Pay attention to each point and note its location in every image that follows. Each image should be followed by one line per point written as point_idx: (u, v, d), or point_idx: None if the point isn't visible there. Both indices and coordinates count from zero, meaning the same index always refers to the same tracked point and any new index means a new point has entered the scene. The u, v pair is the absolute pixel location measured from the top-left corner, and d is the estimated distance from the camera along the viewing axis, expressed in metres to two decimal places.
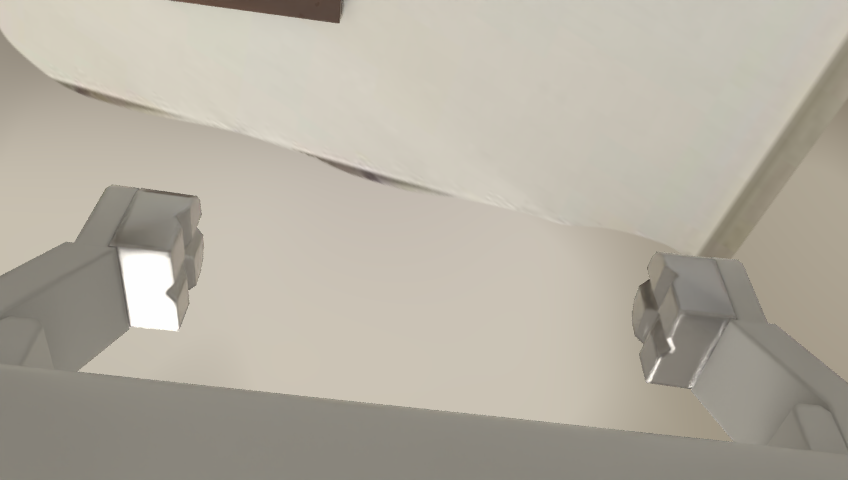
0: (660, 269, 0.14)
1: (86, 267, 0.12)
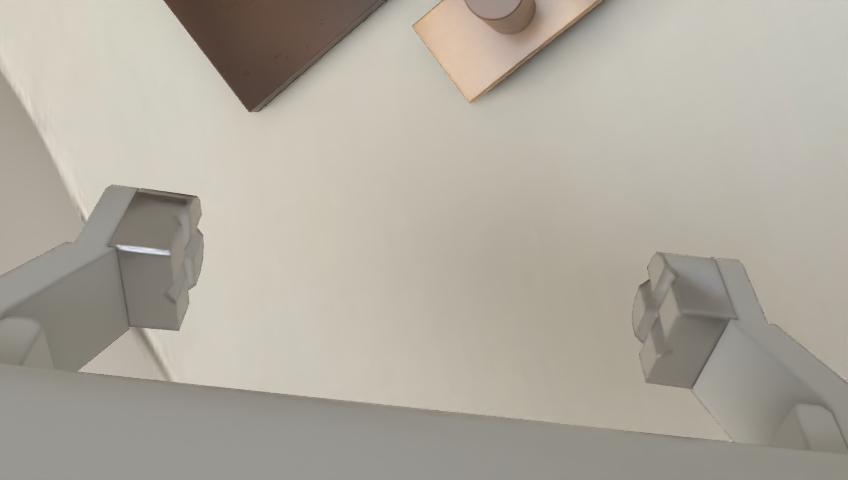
0: (660, 269, 0.14)
1: (86, 267, 0.12)
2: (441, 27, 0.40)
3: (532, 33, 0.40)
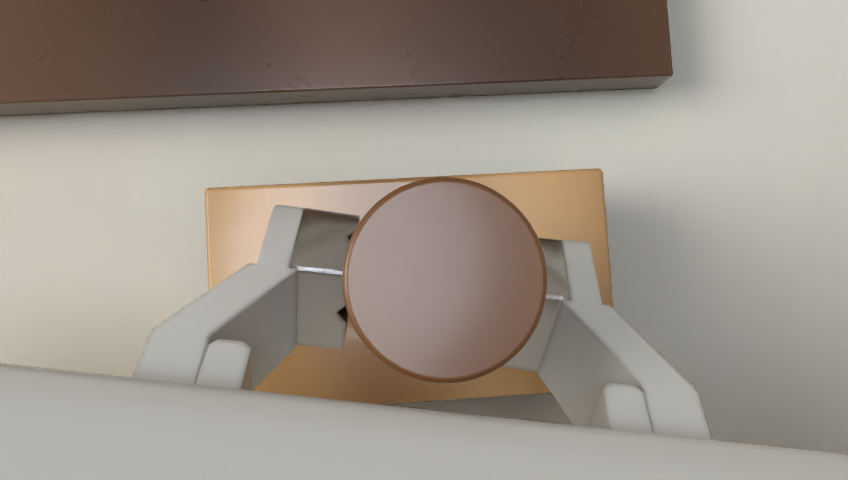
0: None
1: (274, 289, 0.12)
2: (260, 232, 0.17)
3: None
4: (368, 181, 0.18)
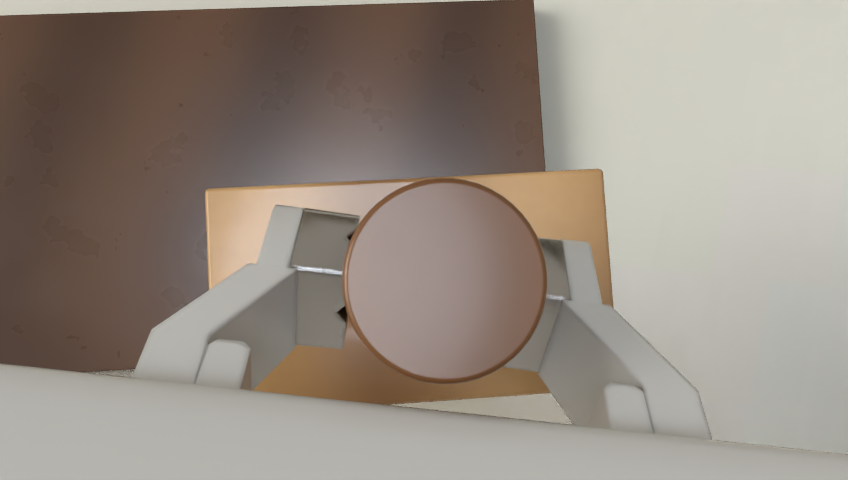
0: None
1: (274, 289, 0.12)
2: (260, 232, 0.17)
3: None
4: (368, 181, 0.18)
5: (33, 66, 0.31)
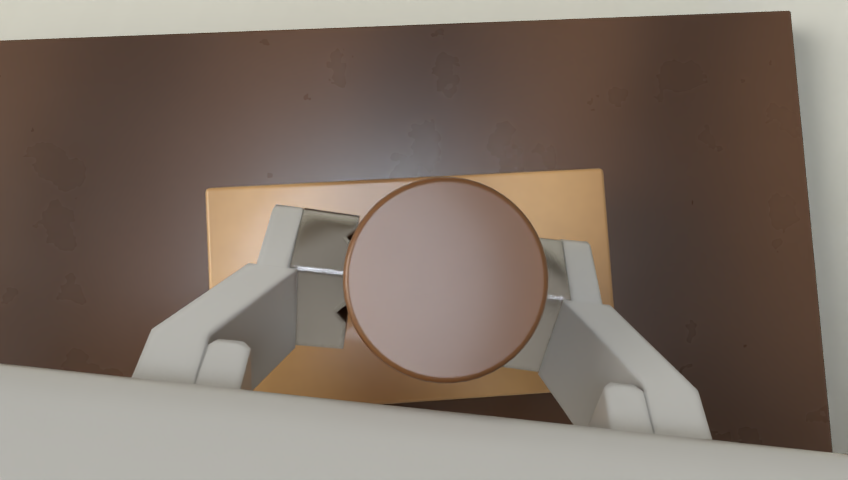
0: None
1: (274, 289, 0.12)
2: (261, 231, 0.17)
3: None
4: (369, 181, 0.18)
5: (45, 117, 0.20)
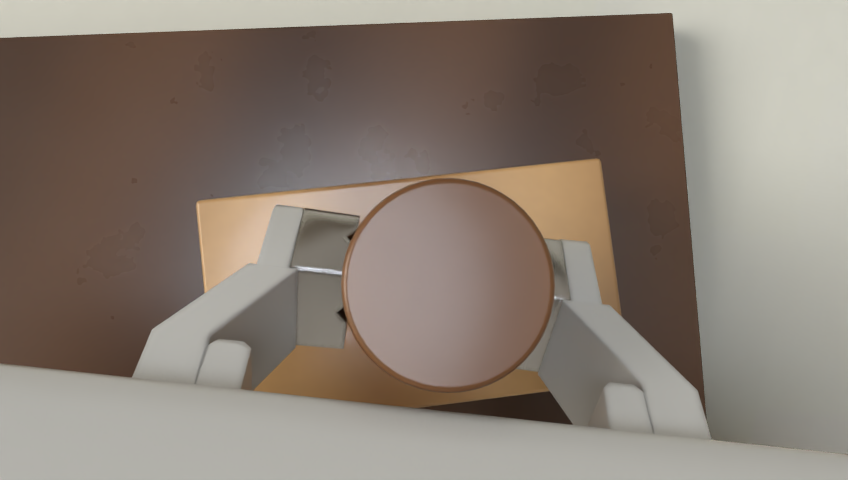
0: None
1: (274, 289, 0.12)
2: (255, 242, 0.17)
3: None
4: (362, 184, 0.17)
5: None
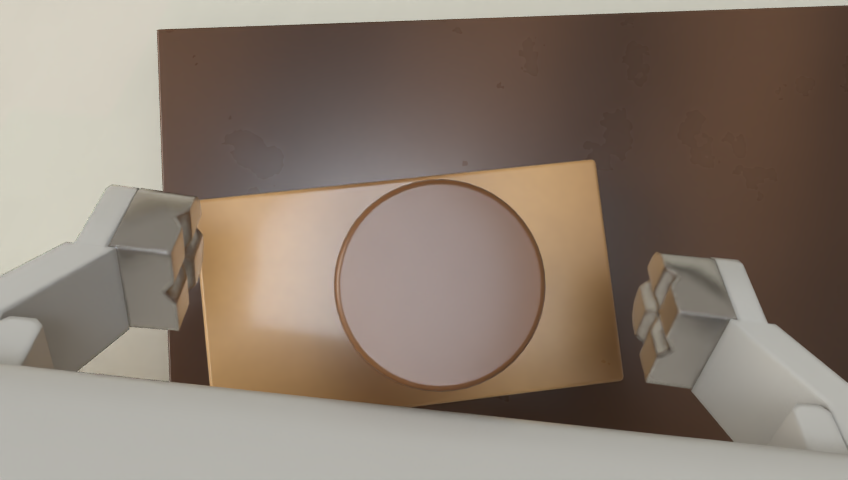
0: (660, 269, 0.14)
1: (86, 267, 0.12)
2: (251, 242, 0.17)
3: None
4: (358, 184, 0.17)
5: (243, 105, 0.20)
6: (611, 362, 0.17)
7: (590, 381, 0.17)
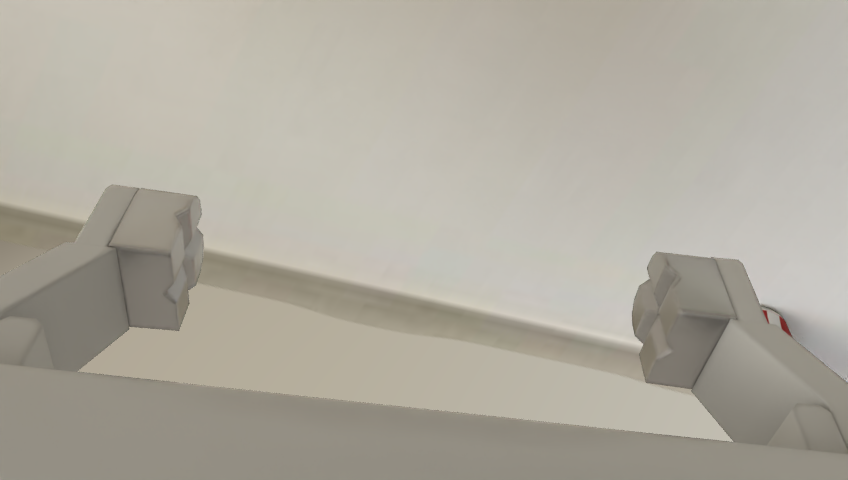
0: (660, 269, 0.14)
1: (86, 267, 0.12)
2: None
3: None
4: None
5: None
6: None
7: None
